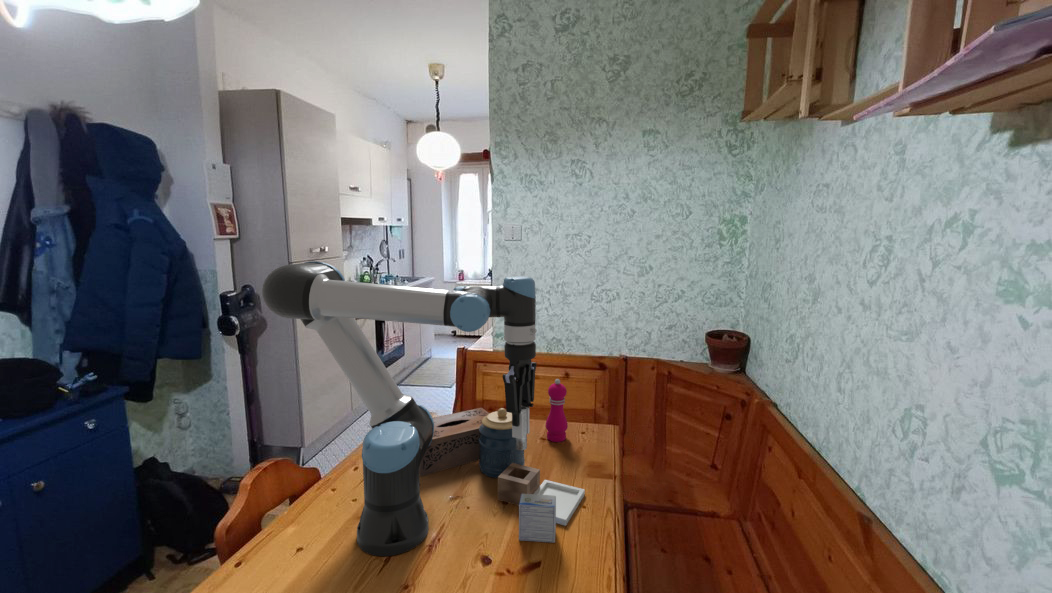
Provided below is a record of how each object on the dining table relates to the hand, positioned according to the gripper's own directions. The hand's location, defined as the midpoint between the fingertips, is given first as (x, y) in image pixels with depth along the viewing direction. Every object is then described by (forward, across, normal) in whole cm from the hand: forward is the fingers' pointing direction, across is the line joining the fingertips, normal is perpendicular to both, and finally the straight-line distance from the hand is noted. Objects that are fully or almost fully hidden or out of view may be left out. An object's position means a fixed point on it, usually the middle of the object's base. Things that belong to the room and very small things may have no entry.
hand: (520, 434), depth 112 cm
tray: (+17, +2, -8) cm, 19 cm away
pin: (+3, 0, 0) cm, 3 cm away
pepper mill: (+17, +36, +6) cm, 41 cm away
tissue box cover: (+17, +11, +29) cm, 36 cm away
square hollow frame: (+17, +1, +1) cm, 17 cm away
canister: (+17, +11, +12) cm, 24 cm away
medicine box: (+17, -11, -10) cm, 23 cm away
